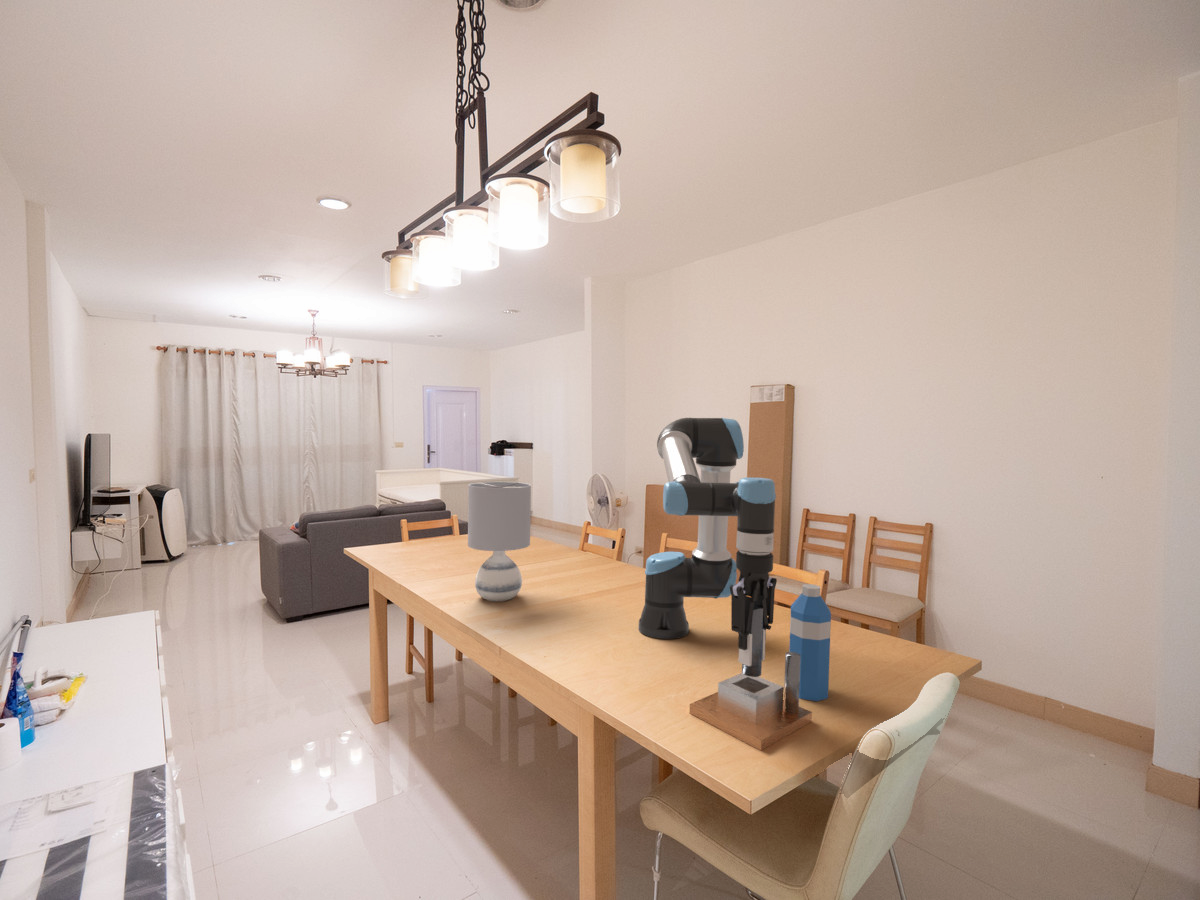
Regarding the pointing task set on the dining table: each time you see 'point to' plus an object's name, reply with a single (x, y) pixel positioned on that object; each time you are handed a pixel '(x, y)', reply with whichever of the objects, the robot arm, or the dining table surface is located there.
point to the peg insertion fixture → (756, 706)
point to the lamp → (499, 534)
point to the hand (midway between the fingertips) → (751, 660)
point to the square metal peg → (755, 643)
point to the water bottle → (811, 642)
